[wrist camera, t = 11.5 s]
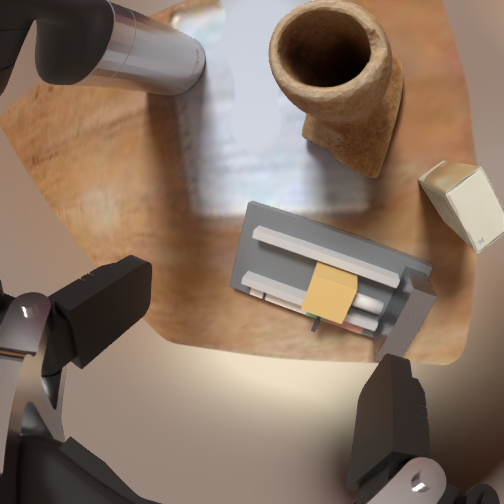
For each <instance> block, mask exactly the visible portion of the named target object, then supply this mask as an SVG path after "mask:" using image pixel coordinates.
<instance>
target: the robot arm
mask: <svg viewBox="0 0 504 504" xmlns="http://www.w3.org/2000/svg"><path fill="white" fill-rule="evenodd" d="M34 20H36V23H37V37H36V47H35V64H36V69H37V72H38V74H39V76H40V77H41V79H42V80H43V81H45V82H47V83H49V84H54V85H77V86H95V87H106V88H116V89H125V90H133V91H141V92H148V93H154V94H160V95H167V96H174V95H179V94H181V93H184V92H185V91H187V90H189V89H190V88H191V87H192V86H193V85H194V84H195V83H196V82H197V80H198V79H199V77H200V76H201V74H202V71H203V68H204V63H205V54H204V50H203V48H202V46H201V44H200V43H199V42H198V41H197V40H196V39H194V38H192V37H190V36H188V35H186V34H184V33H182V32H180V31H178V30H176V29H174V28H172V27H170V26H168V25H166V24H164V23H162V22H159V21H157V20H155V19H153V18H151V17H148V16H146V15H144V14H141V13H139V12H136V11H134V10H131V9H129V8H126V7H123V6H121V5H118V4H115V3H113V2H110V1H107V0H0V95H1V94H2V93H3V92H4V90H5V88H6V86H7V83H8V81H9V78H10V75H11V73H12V70H13V68H14V65H15V62H16V59H17V57H18V55H19V52H20V50H21V47H22V45H23V42H24V40H25V38H26V36H27V33H28V31H29V29H30V27H31V25H32V23H33V21H34ZM151 280H152V266H151V264H150V263H149V262H147V261H144V260H142V259H140V258H138V257H135V256H133V255H129V256H127V257H125V258H124V259H122V260H120V261H118V262H116V263H111V264H107V265H103V266H100V267H98V268H97V269H95V270H93V271H91V272H90V274H86V275H84V276H83V277H81V279H77V280H76V281H74V282H72V283H70V284H69V285H67V286H65V287H64V288H62V289H60V290H59V291H57V292H55V293H54V294H52V295H50V296H49V297H47V296H45V295H43V294H41V293H36V292H30V293H25V294H22V295H20V296H18V297H16V298H15V297H12V296H9V295H7V294H4V292H3V288H2V284H1V280H0V504H161V503H157V502H154V501H150V500H147V499H144V498H142V497H140V496H138V495H137V494H136V493H134V492H133V491H132V490H131V489H130V488H129V487H128V486H127V485H126V484H125V483H124V482H123V481H122V480H121V479H120V478H119V477H118V476H117V475H116V474H115V473H114V472H113V471H112V469H111V468H110V467H109V466H108V465H107V464H106V463H105V462H104V461H102V460H101V459H100V458H98V457H97V456H95V455H94V454H93V453H91V452H90V451H89V450H87V449H86V448H85V447H83V446H82V445H81V444H80V443H78V442H77V441H76V440H74V439H73V438H72V437H70V438H68V439H67V441H66V442H65V438H64V431H63V426H62V420H61V413H62V402H63V394H64V385H65V379H66V364H67V363H69V362H70V361H71V362H73V363H74V364H75V365H76V366H78V367H79V368H81V369H83V368H84V367H85V366H86V365H87V364H88V363H90V362H91V361H92V360H93V359H94V358H95V357H97V356H98V355H99V354H100V353H101V352H102V351H103V350H104V349H106V348H107V347H108V346H109V345H110V344H112V343H113V342H114V341H115V340H116V339H117V338H119V337H120V336H121V335H122V334H123V333H124V332H126V330H128V329H129V328H130V327H131V326H132V325H134V324H135V323H136V322H137V321H139V319H141V318H142V317H143V316H144V315H145V314H146V312H147V310H148V308H149V305H150V300H151ZM425 407H426V399H425V392H424V390H423V388H422V387H421V384H420V383H419V381H418V379H416V378H413V377H412V373H411V365H410V361H409V359H405V358H402V357H399V356H396V355H392V354H389V353H387V354H386V355H384V357H383V358H382V360H381V361H380V363H379V364H378V366H377V368H376V369H375V371H374V372H373V374H372V375H371V377H370V378H369V380H368V381H367V382H366V384H365V385H364V388H363V389H362V391H361V394H360V396H359V400H358V406H357V415H356V423H355V432H354V440H353V446H352V453H351V459H350V465H349V471H348V477H347V482H346V488H345V489H347V490H353V491H358V493H357V498H356V500H355V501H353V502H352V503H351V504H500V502H499V498H498V495H497V493H496V491H495V490H494V489H493V488H492V487H491V486H489V485H487V484H479V485H476V486H474V487H473V488H472V489H470V490H469V491H467V492H465V491H463V490H461V489H458V488H456V487H453V486H451V485H449V484H447V483H446V477H445V474H444V472H443V470H442V468H441V467H440V466H439V465H438V464H437V463H436V462H435V461H433V460H431V452H430V437H429V426H428V419H427V408H425Z"/></svg>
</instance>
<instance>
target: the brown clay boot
mask: <svg viewBox="0 0 504 504" xmlns="http://www.w3.org/2000/svg"><path fill="white" fill-rule="evenodd" d="M269 63H270V67H271V70H272V74H273V76H274V78H275V80H276V82H277V84H278V86H279V87H280V89H281V90H282V92H283V93H284V94H285V95H286V96H287V98H288V99H289V100H290V101H291V102H292V103H293V104H294V105H295V106H297V107H298V108H299V109H300V110H302V111H303V112H305V113H306V119H305V122H304V125H303V129H302V136H303V137H304V138H305V139H307V140H309V141H311V142H314V143H315V144H317V145H319V146H322V147H324V148H326V149H327V150H328V151H329V152H330V154H331V155H333V156H334V157H335V158H336V159H337V160H338V161H339V162H341V163H343V164H344V165H346V166H348V167H350V168H351V169H353V170H355V171H357V172H359V173H361V174H363V175H364V176H366V177H369V178H377V177H378V175H379V172H380V170H381V167H382V164H383V161H384V159H385V156H386V153H387V150H388V147H389V143H390V140H391V136H392V130H393V128H394V125H395V121H396V118H397V114H398V109H399V105H400V100H401V94H402V88H403V69H402V65H401V63H400V62H399V60H398V59H396V58H395V57H394V56H393V55H392V52H391V47H390V43H389V40H388V37H387V35H386V33H385V31H384V29H383V28H382V26H381V24H380V23H379V22H378V21H377V19H376V18H375V17H374V16H373V15H372V14H371V13H369V12H368V11H366V10H365V9H363V8H361V7H360V6H358V5H356V4H354V3H351V2H346V1H341V0H316V1H311V2H309V3H306V4H304V5H301V6H299V7H297V8H296V9H294V10H292V11H291V12H290V13H288V14H287V15H286V16H285V17H284V18H283V19H281V21H280V22H279V23H278V24H277V26H276V28H275V30H274V32H273V35H272V37H271V41H270V45H269Z"/></svg>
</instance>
